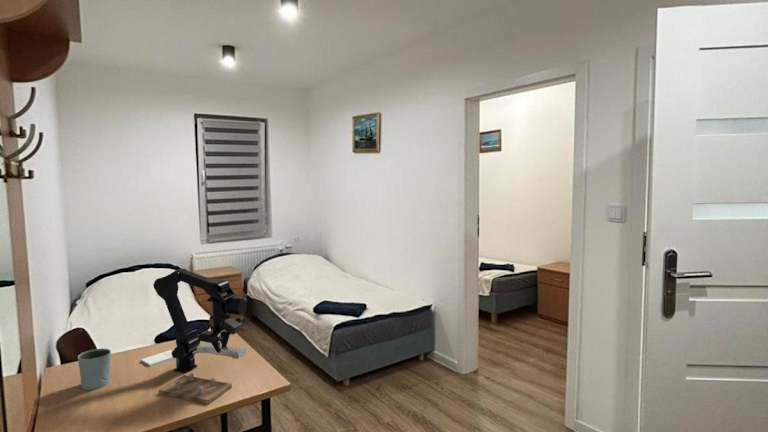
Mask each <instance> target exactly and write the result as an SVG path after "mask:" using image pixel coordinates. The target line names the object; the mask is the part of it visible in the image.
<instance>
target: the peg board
mask: <svg viewBox="0 0 768 432" xmlns="http://www.w3.org/2000/svg"><path fill="white" fill-rule="evenodd" d="M232 385H233V384H232V383H227V382H223V381H217V380H216V377H211V378H210V379H208V378H203V377H196V376H194V373H193V372H191V373H189V374H188V375H185V374H184V375H182V376H180V377H179V378H176V379H175V380H173V381H171V382H170V383H167V384H166V385H165V386H163V387H162V388H159V389H158V394H159V395H161V396H168V397H172V398H176V399H177V398H178V399H182V400H187V401H192V402H195V403H201V404H205V405H210V404H211V403H213V402H214V401H216V400H217V399H219V398H220V397H221V396H222V395H224V394H225V393H227V392H228V391H229V390H231V389H232V388H233V387H232Z"/></svg>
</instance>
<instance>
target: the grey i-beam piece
mask: <svg viewBox="0 0 768 432" xmlns="http://www.w3.org/2000/svg"><path fill="white" fill-rule="evenodd" d="M196 352H197V354H205V353H206V354H211V355H216V356H223V357H229V358H232V359H235V360H241V358H243V357H244V356H246V355H247V348H245V347H241V346H239V347H232V346H228V345H227V346H221V345H220V353H217V352H216V350H215V348H214V347H213V345H212V344H211V343H207V342H203V343H200V344H199V346H197V351H196Z"/></svg>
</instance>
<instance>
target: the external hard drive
mask: <svg viewBox="0 0 768 432" xmlns="http://www.w3.org/2000/svg"><path fill="white" fill-rule="evenodd" d="M172 351H173V350H172V349H169V350H166V351H164V352H160V353H157V354H153V355H151V356H150V355H149V356H148V357H144V358H141V359H140V363H143V364H144V365H146V366H148V367H150V368H151V367H153V366H156V365H159V364H162V363H165V362H169V361H171V360H174V359H175V358H173V357H172V354H171V352H172Z"/></svg>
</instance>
